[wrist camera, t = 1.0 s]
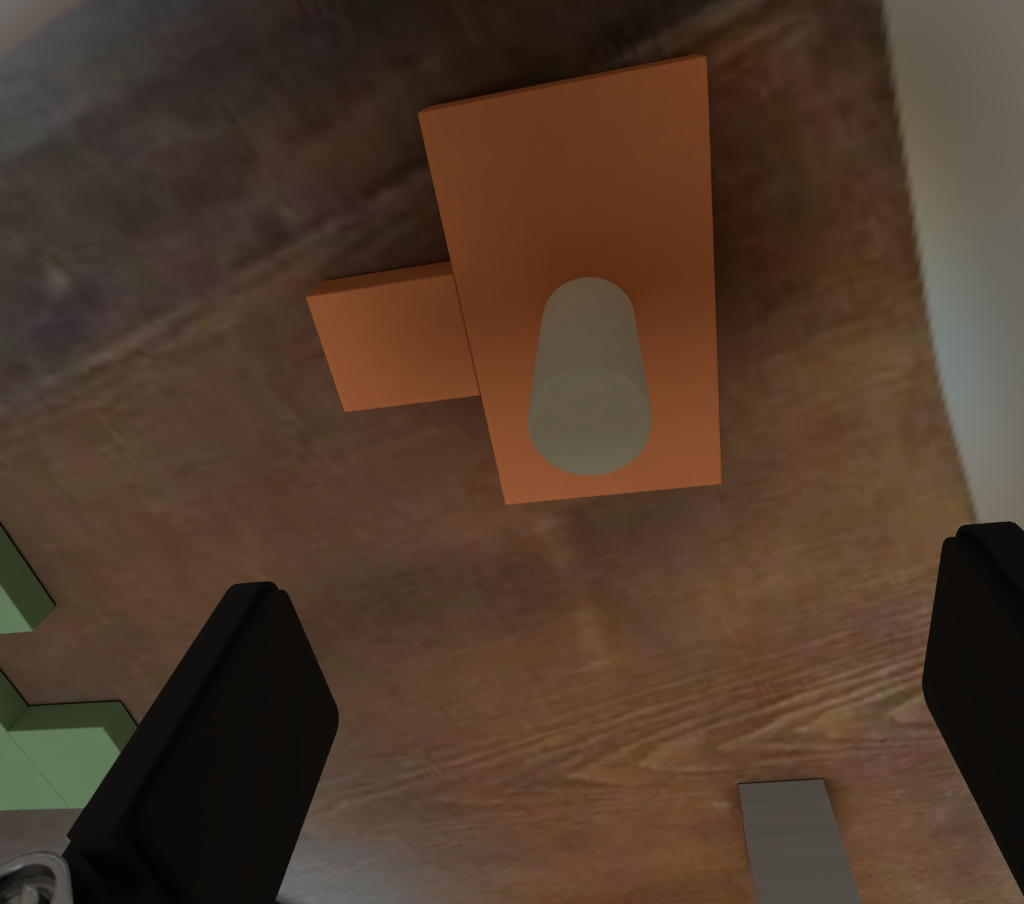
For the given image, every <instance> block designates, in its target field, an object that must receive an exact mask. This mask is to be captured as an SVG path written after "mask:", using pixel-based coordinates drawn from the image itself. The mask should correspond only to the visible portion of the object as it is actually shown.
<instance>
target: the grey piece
mask: <svg viewBox="0 0 1024 904" xmlns="http://www.w3.org/2000/svg"><path fill="white" fill-rule="evenodd" d="M738 788H739V796H740V803H741V811H742V818H743V826H744V833H745V841H746V849H747V856H748V864H749V870H750V875H751V880H752V885H753V890H754V895H755V901H756V904H862V903H861V900H860V896H859V893H858V890H857V887H856V884H855V880H854V877H853V874H852V871H851V868H850V864H849V861H848V858H847V855H846V852H845V848H844V845H843V842H842V839H841V836H840V832H839V829H838V826H837V823H836V820H835V816H834V813H833V810H832V807H831V804H830V800H829V797H828V794H827V791H826V788H825V785H824V781H823V779H816V780H800V781H784V782H768V783H752V784H738Z"/></svg>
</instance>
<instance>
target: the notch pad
mask: <svg viewBox="0 0 1024 904" xmlns="http://www.w3.org/2000/svg"><path fill="white" fill-rule="evenodd" d="M54 607H55V605H54V604H53V602H52V601H51V599H50V598H49V596H48V595H47V593H46V592H45V590H44V589H43V587H42V586H41V584H40V583H39V581H38V580H37V579H36V577H35V576H34V574H33V573H32V571H31V570H30V568H29V567H28V565H27V564H26V562H25V561H24V559H23V558H22V556H21V555H20V554H19V552H18V551H17V549H16V548H15V546H14V545H13V543H12V542H11V540H10V539H9V537H8V536H7V534H6V533H5V531H4V530H3V529H2V527H1V526H0V634H4V633H17V632H31V631H33V630H34V629H35V628H36V627H37V626H38V625H39V624H40V623H41V622H42V621H43V619H44V618H45V617H46V616H47V615H48V614H49V613H50V612H51V611H52V609H53V608H54ZM136 729H137V726H136V724H135V723H134V721H133V720H132V718H131V717H130V715H129V714H128V712H127V711H126V709H125V708H124V706H123V705H122V704H121V702H119V701H115V702H97V703H79V704H60V705H42V706H29V707H28V705H27V704H26V703H25V702H24V700H23V699H22V698H21V697H20V695H19V694H18V693H17V691H16V690H15V689H14V688H13V686H12V685H11V684H10V682H9V681H8V680H7V679H6V677H5V676H4V675H3V673H2V672H1V671H0V810H32V809H69V808H85V806H86V805H87V803H88V802H89V800H90V799H91V797H92V796H93V794H94V793H95V791H96V790H97V788H98V787H99V785H100V784H101V782H102V780H103V779H104V777H105V776H106V774H107V773H108V771H109V770H110V768H111V767H112V765H113V764H114V762H115V761H116V759H117V758H118V756H119V755H120V753H121V752H122V750H123V748H124V747H125V745H126V744H127V742H128V741H129V739H130V738H131V736H132V735H133V733H134V732H135V730H136Z"/></svg>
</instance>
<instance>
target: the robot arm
mask: <svg viewBox="0 0 1024 904" xmlns="http://www.w3.org/2000/svg"><path fill="white" fill-rule="evenodd" d="M922 687H923V693H924V697H925V701H926V704H927V706H928V708H929V710H930V712H931V714H932V716H933V718H934V720H935V722H936V724H937V726H938V728H939V730H940V732H941V734H942V736H943V738H944V740H945V742H946V744H947V746H948V748H949V750H950V752H951V754H952V756H953V758H954V760H955V762H956V764H957V766H958V768H959V770H960V772H961V774H962V776H963V778H964V780H965V782H966V783H967V785H968V787H969V789H970V791H971V793H972V795H973V797H974V799H975V801H976V803H977V805H978V807H979V809H980V811H981V813H982V815H983V817H984V819H985V821H986V823H987V825H988V827H989V829H990V831H991V833H992V835H993V837H994V839H995V841H996V843H997V845H998V847H999V849H1000V851H1001V853H1002V855H1003V856H1004V858H1005V860H1006V862H1007V864H1008V866H1009V868H1010V870H1011V872H1012V874H1013V876H1014V878H1015V880H1016V882H1017V884H1018V886H1019V888H1020V890H1021V892H1022V894H1023V896H1024V531H1023V530H1022V529H1021V528H1020V527H1019V526H1018V525H1017V524H1016V523H1013V522H1010V521H1008V522H996V523H984V524H970V525H963V526H960V528H959V529H958V531H957V533H956V537H949V538H946V539H945V540H944V542H943V546H942V551H941V558H940V565H939V571H938V578H937V585H936V591H935V598H934V604H933V611H932V618H931V624H930V631H929V638H928V644H927V651H926V657H925V664H924V671H923V677H922ZM338 722H339V715H338V709H337V705H336V703H335V701H334V699H333V696H332V694H331V692H330V689H329V687H328V685H327V682H326V680H325V678H324V676H323V673H322V671H321V669H320V666H319V664H318V662H317V659H316V657H315V655H314V653H313V650H312V648H311V646H310V643H309V641H308V639H307V636H306V634H305V632H304V630H303V627H302V625H301V623H300V620H299V618H298V616H297V613H296V611H295V609H294V606H293V604H292V602H291V600H290V597H289V595H288V594H287V592H285V591H284V590H279V589H278V588H277V586H276V585H275V584H274V583H273V582H269V581H266V582H253V583H241V584H235V585H232V586H231V587H230V588H229V589H228V590H227V592H226V593H225V595H224V596H223V598H222V599H221V601H220V602H219V604H218V605H217V607H216V608H215V610H214V611H213V613H212V614H211V616H210V617H209V619H208V621H207V622H206V624H205V625H204V627H203V628H202V630H201V631H200V633H199V634H198V636H197V637H196V639H195V640H194V642H193V643H192V645H191V646H190V648H189V649H188V651H187V653H186V654H185V656H184V657H183V659H182V660H181V662H180V663H179V665H178V666H177V668H176V669H175V671H174V672H173V674H172V675H171V677H170V678H169V680H168V681H167V683H166V685H165V686H164V688H163V689H162V691H161V692H160V694H159V695H158V697H157V698H156V700H155V701H154V703H153V704H152V706H151V707H150V709H149V710H148V712H147V713H146V715H145V717H144V718H143V720H142V721H141V723H140V724H139V726H138V727H137V729H136V730H135V732H134V733H133V735H132V736H131V738H130V739H129V741H128V742H127V744H126V745H125V747H124V748H123V750H122V752H121V753H120V755H119V756H118V758H117V759H116V761H115V762H114V764H113V765H112V767H111V768H110V770H109V771H108V773H107V774H106V776H105V777H104V779H103V780H102V782H101V784H100V785H99V787H98V788H97V790H96V791H95V793H94V794H93V796H92V797H91V799H90V800H89V802H88V803H87V805H86V806H85V808H84V809H83V811H82V812H81V814H80V816H79V817H78V819H77V820H76V822H75V823H74V825H73V826H72V828H71V829H70V831H69V832H68V834H67V835H66V836H67V837H68V838H69V839H70V840H71V842H70V844H69V845H68V847H67V848H66V850H65V851H64V853H63V854H62V856H60V855H59V854H57V853H56V852H48V851H37V852H33V853H29V854H24V855H21V856H19V857H17V858H15V859H13V860H10V861H8V862H6V863H4V864H2V865H0V904H274V903H275V900H276V897H277V895H278V892H279V889H280V886H281V884H282V881H283V878H284V875H285V873H286V870H287V867H288V864H289V862H290V859H291V856H292V853H293V851H294V848H295V845H296V842H297V840H298V837H299V834H300V831H301V829H302V826H303V823H304V820H305V818H306V815H307V812H308V809H309V807H310V804H311V801H312V798H313V796H314V793H315V790H316V787H317V785H318V782H319V779H320V777H321V774H322V771H323V768H324V766H325V763H326V760H327V757H328V755H329V752H330V749H331V746H332V744H333V741H334V738H335V735H336V732H337V729H338Z"/></svg>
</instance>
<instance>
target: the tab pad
mask: <svg viewBox="0 0 1024 904" xmlns="http://www.w3.org/2000/svg"><path fill="white" fill-rule="evenodd" d="M418 118H419V122H420V127H421V131H422V136H423V140H424V145H425V149H426V153H427V158H428V162H429V167H430V171H431V176H432V180H433V185H434V189H435V193H436V198H437V202H438V207H439V211H440V216H441V220H442V225H443V229H444V233H445V238H446V242H447V247H448V251H449V256H450V260H451V261H447V262H440V263H434V264H428V265H421V266H415V267H409V268H402V269H396V270H390V271H383V272H377V273H371V274H364V275H358V276H352V277H345V278H339V279H333V280H326V281H322V282H321V283H320V284H319V285H318V286H317V287H316V288H315V289H314V290H313V291H312V292H311V293H310V294H309V295H308V296H307V297H306V299H307V302H308V305H309V308H310V311H311V314H312V317H313V320H314V323H315V326H316V329H317V332H318V335H319V338H320V341H321V344H322V346H323V349H324V352H325V355H326V358H327V361H328V364H329V367H330V370H331V373H332V376H333V379H334V382H335V385H336V388H337V391H338V394H339V397H340V400H341V403H342V406H343V409H344V411H345V412H350V411H358V410H366V409H375V408H383V407H391V406H399V405H407V404H415V403H423V402H431V401H439V400H447V399H455V398H463V397H471V396H479V395H480V393H481V398H482V402H483V407H484V411H485V416H486V420H487V424H488V429H489V433H490V438H491V442H492V447H493V451H494V456H495V460H496V464H497V469H498V473H499V478H500V482H501V487H502V491H503V496H504V500H505V503H506V504H507V505H509V504H519V503H529V502H540V501H550V500H560V499H571V498H581V497H591V496H601V495H612V494H622V493H632V492H643V491H653V490H663V489H674V488H684V487H694V486H705V485H715V484H721V483H722V473H721V444H720V415H719V387H718V358H717V329H716V301H715V272H714V243H713V215H712V186H711V157H710V128H709V100H708V71H707V57H706V56H702V55H699V54H692V55H687V56H682V57H677V58H672V59H667V60H662V61H657V62H652V63H647V64H641V65H636V66H631V67H626V68H621V69H616V70H611V71H606V72H601V73H596V74H591V75H586V76H581V77H575V78H570V79H565V80H560V81H555V82H550V83H545V84H540V85H535V86H530V87H525V88H520V89H515V90H509V91H504V92H499V93H494V94H489V95H484V96H479V97H474V98H469V99H464V100H459V101H454V102H449V103H443V104H438V105H433V106H429V107H428V108H426V109H424V110H422V111H420V112H419V113H418Z"/></svg>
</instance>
